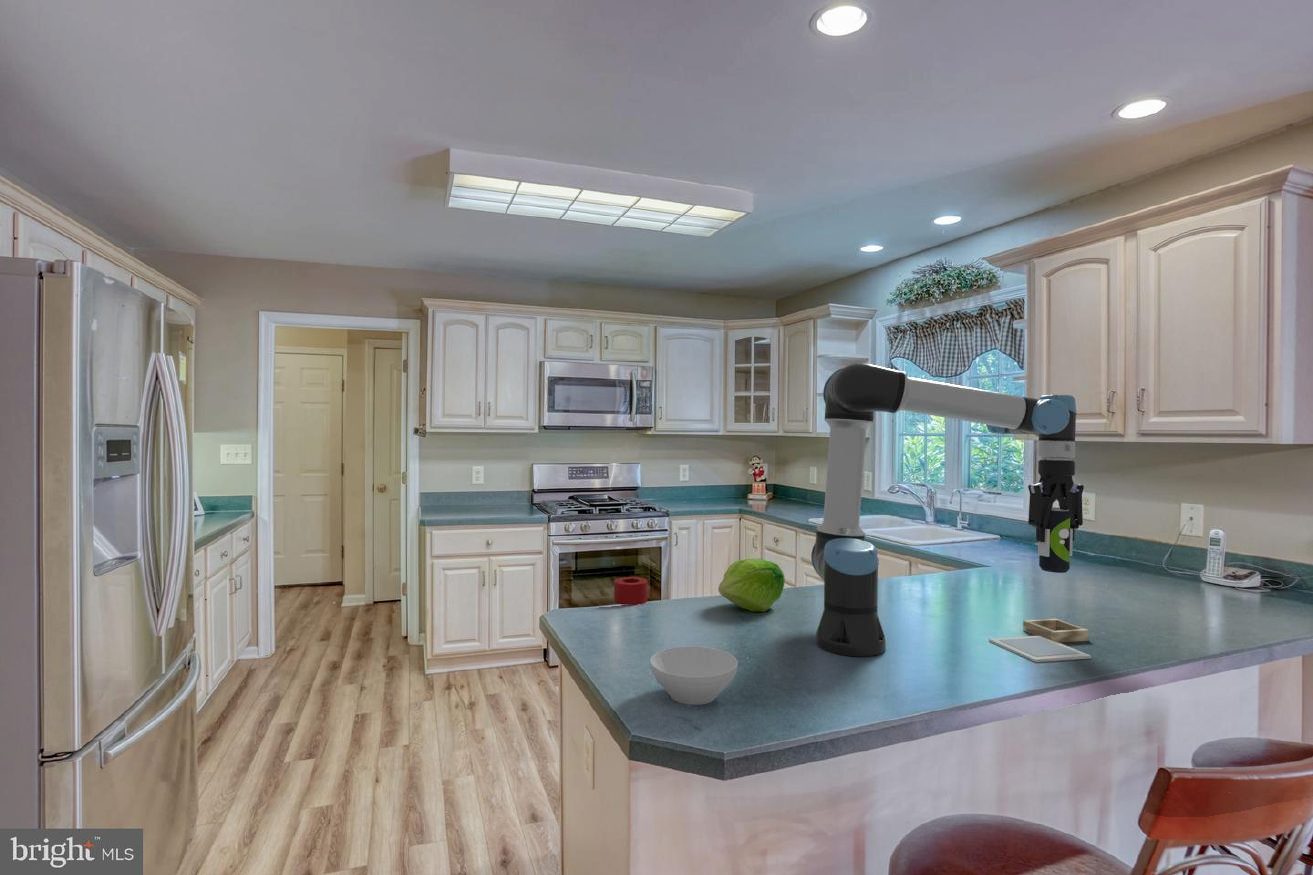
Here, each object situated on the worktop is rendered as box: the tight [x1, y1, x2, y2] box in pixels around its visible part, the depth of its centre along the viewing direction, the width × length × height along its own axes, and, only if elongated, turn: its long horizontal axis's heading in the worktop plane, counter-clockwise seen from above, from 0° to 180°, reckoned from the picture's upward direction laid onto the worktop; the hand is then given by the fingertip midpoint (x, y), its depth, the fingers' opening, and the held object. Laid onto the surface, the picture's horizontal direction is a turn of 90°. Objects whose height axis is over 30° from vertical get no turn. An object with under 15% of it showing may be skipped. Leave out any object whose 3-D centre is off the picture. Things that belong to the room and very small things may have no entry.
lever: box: [613, 576, 649, 606], centre depth 185 cm, size 18×9×7 cm, turn 175°
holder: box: [1022, 618, 1090, 644], centre depth 153 cm, size 10×10×2 cm
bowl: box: [649, 645, 739, 706], centre depth 116 cm, size 16×16×7 cm
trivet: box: [988, 635, 1092, 663], centre depth 143 cm, size 14×14×1 cm
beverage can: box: [1038, 506, 1071, 574], centre depth 154 cm, size 6×6×15 cm
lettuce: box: [717, 558, 785, 613], centre depth 175 cm, size 15×20×14 cm
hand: (1055, 555), depth 153 cm, fingers closed on beverage can, 6 cm apart
